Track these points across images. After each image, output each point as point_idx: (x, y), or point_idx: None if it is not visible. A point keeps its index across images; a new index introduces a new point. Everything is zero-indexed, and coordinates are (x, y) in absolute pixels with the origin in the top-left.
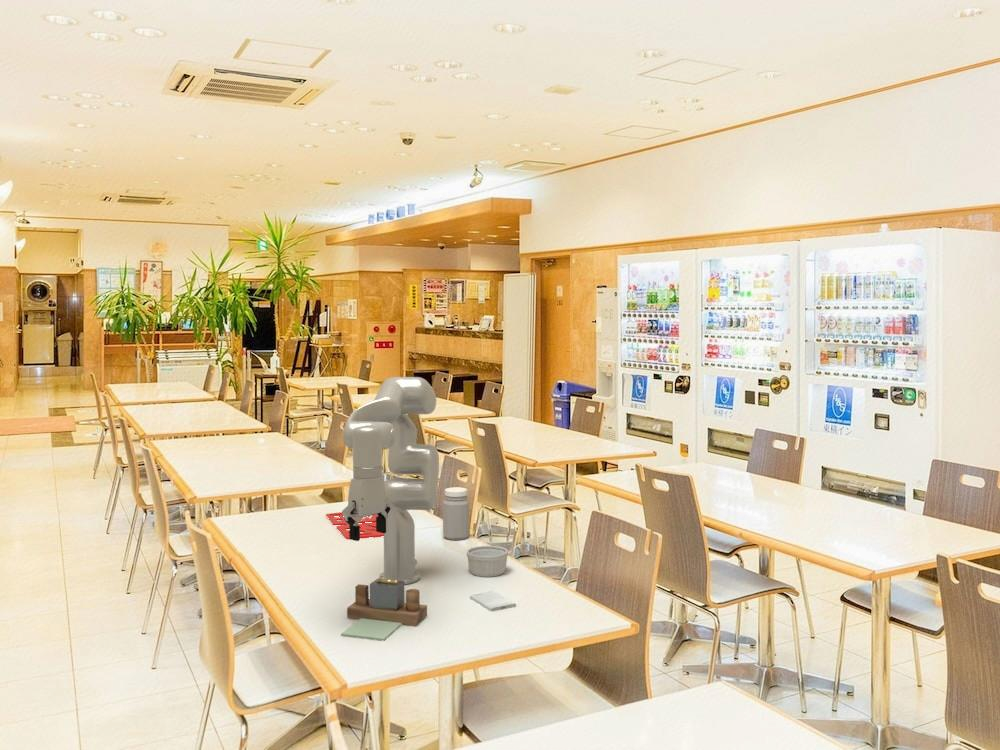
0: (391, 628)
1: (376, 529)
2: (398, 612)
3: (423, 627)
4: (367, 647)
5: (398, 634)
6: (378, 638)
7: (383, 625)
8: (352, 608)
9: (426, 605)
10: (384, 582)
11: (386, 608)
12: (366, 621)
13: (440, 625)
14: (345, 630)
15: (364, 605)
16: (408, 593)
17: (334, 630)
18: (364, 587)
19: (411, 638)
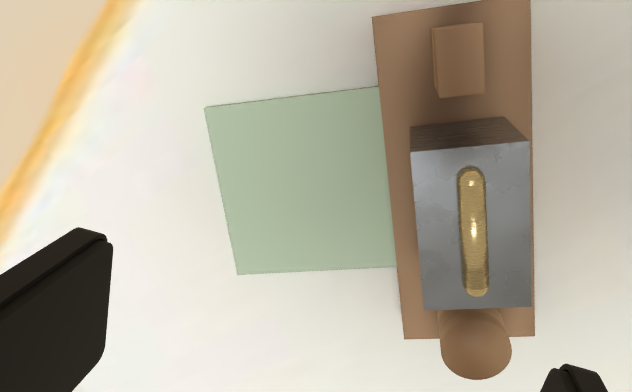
0: (332, 256)
1: (557, 387)
2: (406, 266)
3: (406, 340)
4: (170, 247)
5: (311, 290)
6: (234, 255)
7: (346, 215)
8: (375, 47)
9: (530, 335)
10: (459, 224)
11: None
12: (357, 130)
13: (447, 384)
14: (238, 105)
15: (431, 81)
16: (442, 341)
17: (238, 49)
18: (439, 92)
19: (299, 341)
